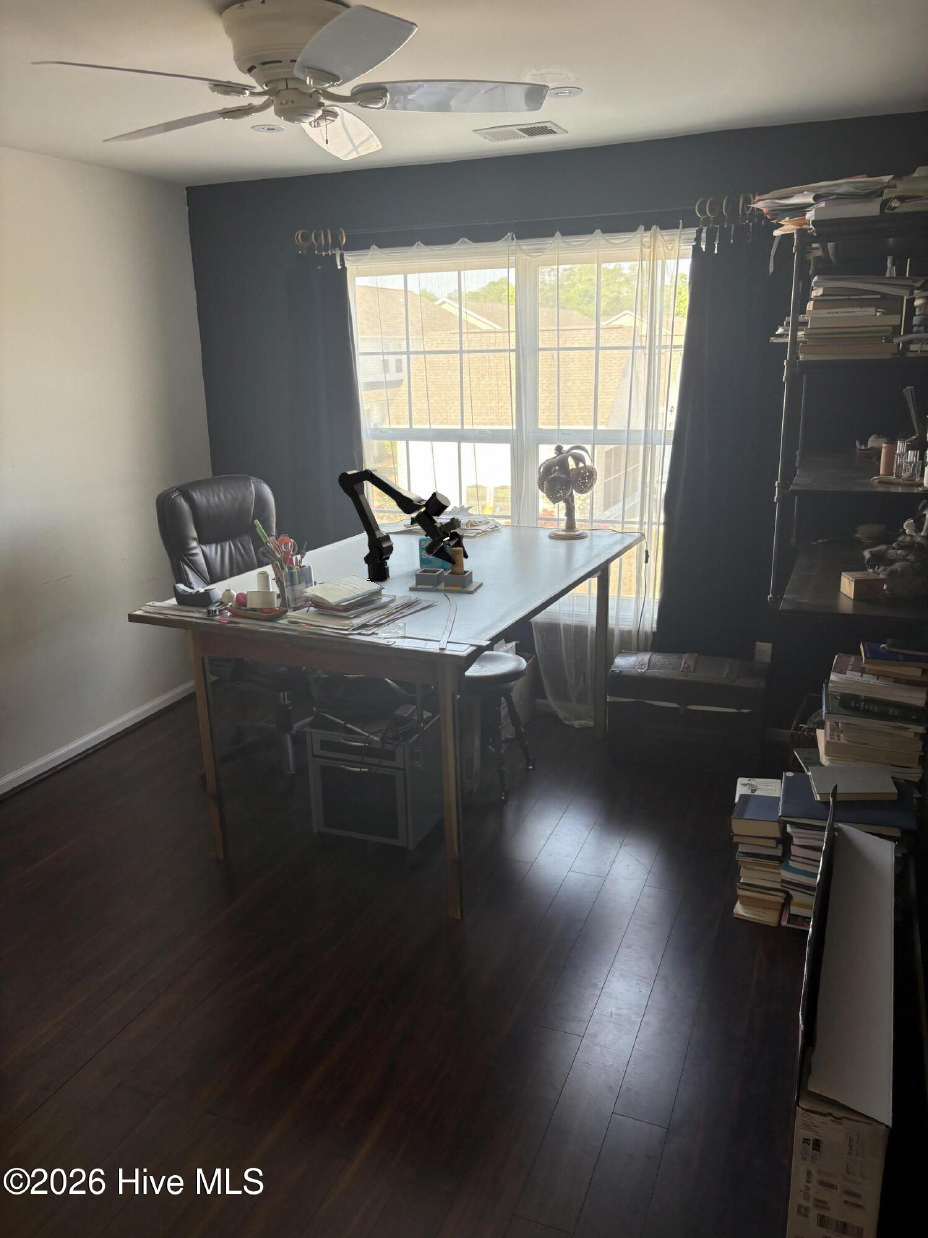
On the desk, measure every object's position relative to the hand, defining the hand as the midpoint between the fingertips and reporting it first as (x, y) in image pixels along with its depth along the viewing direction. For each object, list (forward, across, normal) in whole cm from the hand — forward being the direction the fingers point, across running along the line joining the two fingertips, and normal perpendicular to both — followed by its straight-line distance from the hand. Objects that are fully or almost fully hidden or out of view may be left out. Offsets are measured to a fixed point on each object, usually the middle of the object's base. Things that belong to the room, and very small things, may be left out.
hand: (461, 561), depth 296 cm
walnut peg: (+5, 0, +7) cm, 8 cm away
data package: (-8, +21, +21) cm, 31 cm away
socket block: (+3, -2, +10) cm, 11 cm away
